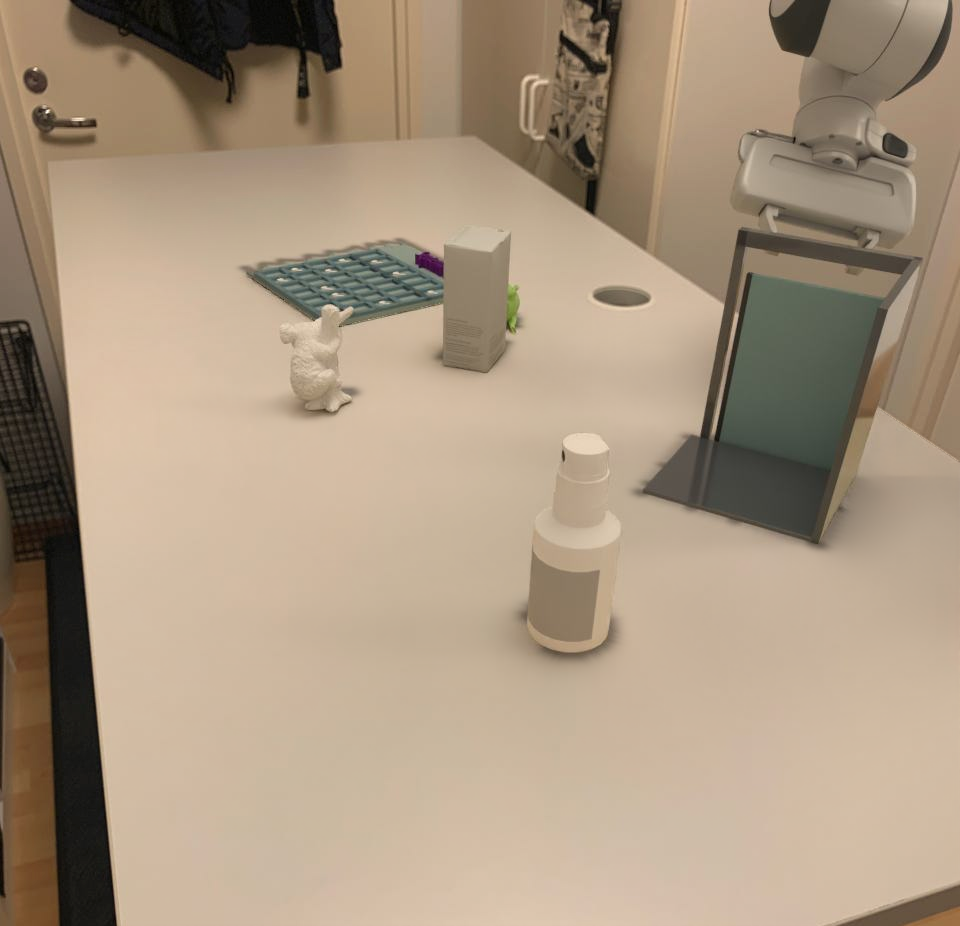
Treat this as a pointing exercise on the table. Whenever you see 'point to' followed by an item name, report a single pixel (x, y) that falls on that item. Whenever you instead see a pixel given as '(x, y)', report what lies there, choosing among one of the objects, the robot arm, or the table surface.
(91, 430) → the table surface
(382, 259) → the calendar
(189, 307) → the table surface
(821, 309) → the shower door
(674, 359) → the table surface
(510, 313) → the green animal figurine
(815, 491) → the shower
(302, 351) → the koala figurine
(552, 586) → the spray bottle
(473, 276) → the cosmetic box
